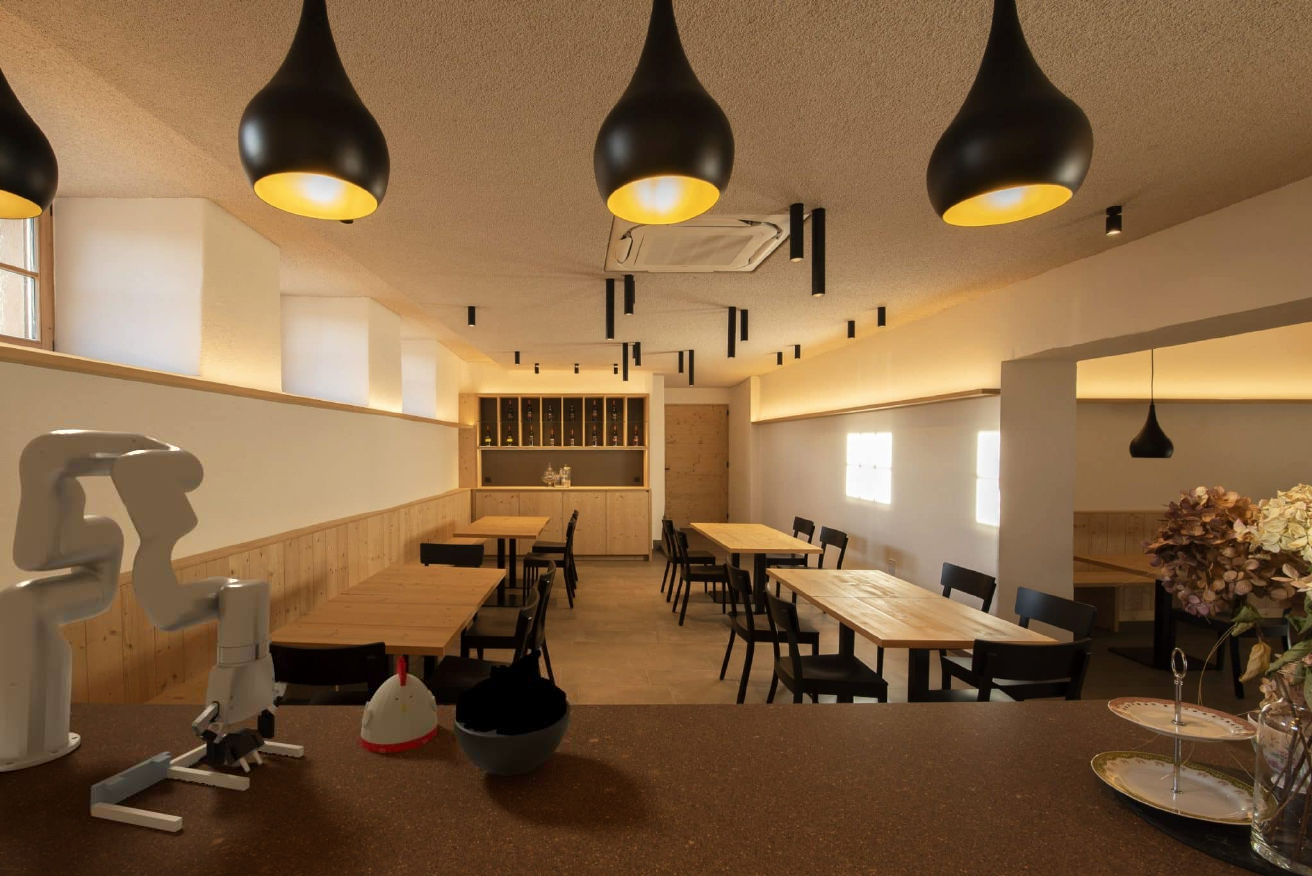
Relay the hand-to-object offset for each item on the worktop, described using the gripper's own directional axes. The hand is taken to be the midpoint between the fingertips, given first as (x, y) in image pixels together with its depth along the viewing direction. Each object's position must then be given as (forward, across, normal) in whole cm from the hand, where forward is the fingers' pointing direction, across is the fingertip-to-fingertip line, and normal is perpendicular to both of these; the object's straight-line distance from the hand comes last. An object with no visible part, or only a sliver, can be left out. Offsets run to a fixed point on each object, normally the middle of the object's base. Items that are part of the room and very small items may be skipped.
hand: (241, 750), depth 104 cm
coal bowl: (+4, -11, +46) cm, 48 cm away
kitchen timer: (+3, -17, +19) cm, 26 cm away
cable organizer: (+3, +6, -1) cm, 6 cm away
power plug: (+3, 0, -3) cm, 4 cm away
